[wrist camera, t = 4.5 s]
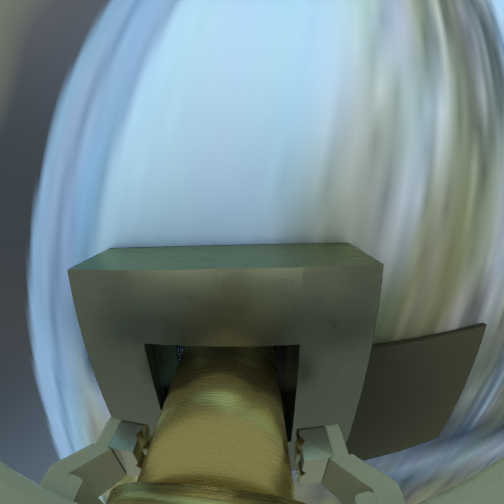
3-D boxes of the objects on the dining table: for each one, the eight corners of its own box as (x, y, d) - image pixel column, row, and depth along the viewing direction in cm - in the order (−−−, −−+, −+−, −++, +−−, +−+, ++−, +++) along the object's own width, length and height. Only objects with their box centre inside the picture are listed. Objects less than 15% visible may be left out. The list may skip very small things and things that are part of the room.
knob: (287, 302, 14) (350, 520, 3) (283, 392, 15) (308, 567, 4) (169, 304, 14) (58, 491, 3) (183, 392, 15) (139, 557, 4)
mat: (483, 322, 15) (486, 325, 14) (436, 434, 17) (438, 437, 17) (338, 348, 15) (340, 352, 14) (315, 465, 17) (315, 468, 17)
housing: (348, 242, 13) (383, 264, 9) (325, 420, 16) (338, 464, 12) (110, 248, 13) (67, 269, 9) (149, 419, 16) (133, 460, 12)
